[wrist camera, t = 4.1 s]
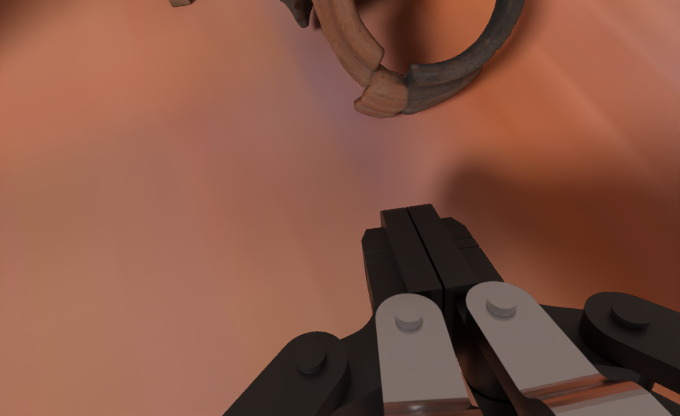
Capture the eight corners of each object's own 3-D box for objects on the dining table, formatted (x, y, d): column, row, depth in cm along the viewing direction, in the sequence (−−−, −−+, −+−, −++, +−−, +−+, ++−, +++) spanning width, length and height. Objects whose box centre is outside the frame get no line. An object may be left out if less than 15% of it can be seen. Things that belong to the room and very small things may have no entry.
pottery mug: (466, -36, 20) (588, -147, 12) (429, 132, 21) (512, 136, 14) (249, -99, 17) (216, -288, 9) (229, 94, 19) (187, 73, 11)
